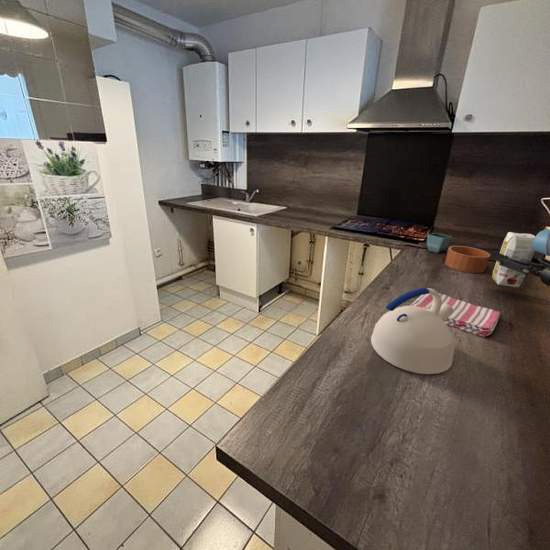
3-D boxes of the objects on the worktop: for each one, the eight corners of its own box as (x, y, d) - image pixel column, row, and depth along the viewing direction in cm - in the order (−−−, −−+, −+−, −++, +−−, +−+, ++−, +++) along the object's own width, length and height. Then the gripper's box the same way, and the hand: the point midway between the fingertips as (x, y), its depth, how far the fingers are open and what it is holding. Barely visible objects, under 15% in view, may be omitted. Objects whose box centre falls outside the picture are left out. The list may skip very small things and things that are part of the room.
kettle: (472, 366, 72) (496, 303, 65) (402, 382, 67) (421, 314, 60) (415, 323, 90) (429, 269, 83) (356, 332, 84) (365, 275, 77)
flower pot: (447, 252, 157) (452, 236, 154) (439, 255, 153) (443, 238, 149) (432, 247, 164) (436, 232, 160) (423, 250, 159) (427, 234, 156)
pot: (487, 266, 139) (492, 251, 136) (482, 276, 128) (488, 260, 125) (448, 257, 149) (452, 243, 146) (441, 266, 137) (445, 251, 134)
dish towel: (489, 340, 83) (493, 329, 82) (407, 309, 98) (409, 300, 96) (499, 318, 95) (503, 309, 93) (424, 294, 109) (426, 285, 108)
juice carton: (522, 288, 106) (542, 238, 99) (495, 285, 109) (513, 235, 101) (514, 280, 113) (532, 233, 106) (488, 277, 116) (505, 230, 108)
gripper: (525, 289, 91) (474, 263, 112) (589, 288, 93) (527, 263, 114) (535, 267, 88) (480, 245, 109) (600, 266, 90) (534, 244, 111)
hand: (504, 254), depth 111 cm, fingers closed on juice carton, 9 cm apart
